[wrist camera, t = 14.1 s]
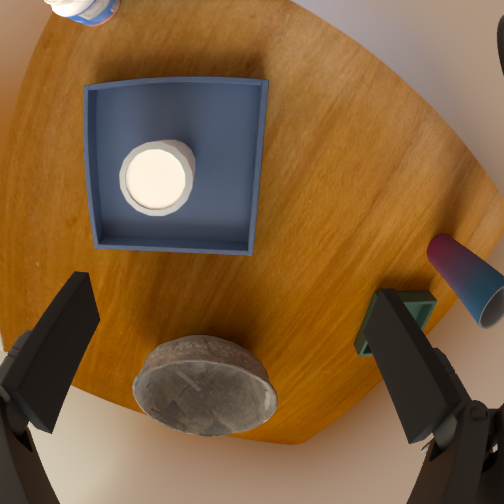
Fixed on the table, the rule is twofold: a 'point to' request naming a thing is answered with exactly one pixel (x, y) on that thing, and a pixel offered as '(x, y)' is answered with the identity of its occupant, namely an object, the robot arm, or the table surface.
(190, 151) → the white faceted candle
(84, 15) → the pill bottle
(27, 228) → the table surface
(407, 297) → the far tray
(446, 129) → the table surface
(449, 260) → the cup
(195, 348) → the bowl
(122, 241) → the near tray
